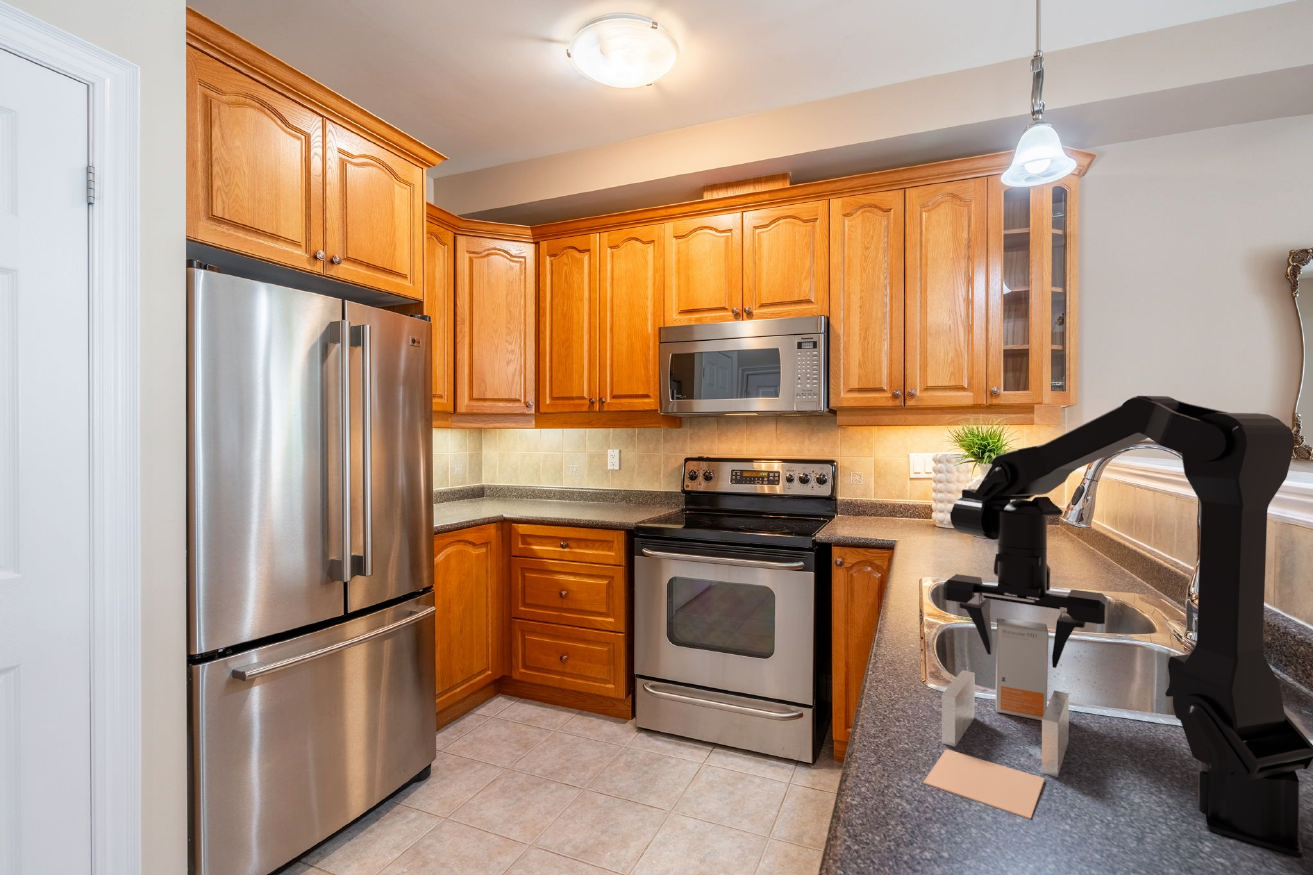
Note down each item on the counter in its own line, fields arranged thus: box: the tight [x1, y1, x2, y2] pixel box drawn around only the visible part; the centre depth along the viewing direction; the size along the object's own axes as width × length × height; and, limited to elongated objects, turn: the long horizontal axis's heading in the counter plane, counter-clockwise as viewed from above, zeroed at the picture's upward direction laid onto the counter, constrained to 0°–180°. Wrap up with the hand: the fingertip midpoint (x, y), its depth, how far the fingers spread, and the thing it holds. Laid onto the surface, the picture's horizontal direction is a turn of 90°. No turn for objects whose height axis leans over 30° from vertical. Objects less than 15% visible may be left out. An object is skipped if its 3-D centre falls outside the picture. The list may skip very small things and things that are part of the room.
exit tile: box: [922, 748, 1045, 820], centre depth 68 cm, size 10×9×1 cm
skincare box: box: [995, 617, 1050, 722], centre depth 85 cm, size 6×4×12 cm
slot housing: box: [941, 669, 1070, 778], centre depth 77 cm, size 12×10×6 cm
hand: (1021, 660), depth 85 cm, fingers open, 7 cm apart
